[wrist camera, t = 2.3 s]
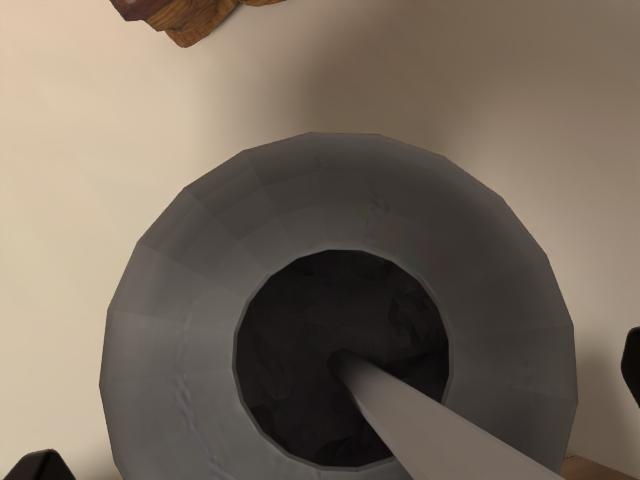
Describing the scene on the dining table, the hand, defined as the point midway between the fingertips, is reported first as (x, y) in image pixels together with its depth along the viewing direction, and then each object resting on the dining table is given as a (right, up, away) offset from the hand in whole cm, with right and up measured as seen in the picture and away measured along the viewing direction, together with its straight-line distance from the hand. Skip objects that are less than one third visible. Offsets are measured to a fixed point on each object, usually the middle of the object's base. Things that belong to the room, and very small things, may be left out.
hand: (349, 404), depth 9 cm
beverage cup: (0, -2, +12) cm, 12 cm away
